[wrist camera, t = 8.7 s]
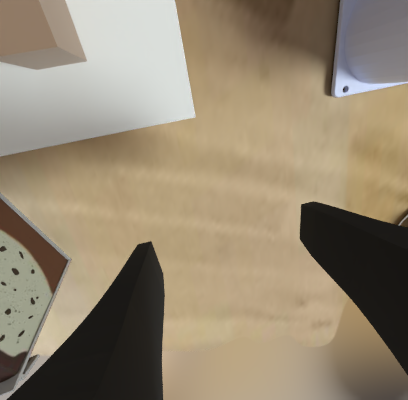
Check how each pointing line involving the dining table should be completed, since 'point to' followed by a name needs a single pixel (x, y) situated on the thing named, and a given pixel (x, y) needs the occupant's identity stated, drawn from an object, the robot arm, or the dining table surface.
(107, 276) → the dining table surface
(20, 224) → the food container
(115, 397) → the robot arm
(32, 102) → the cover sheet
